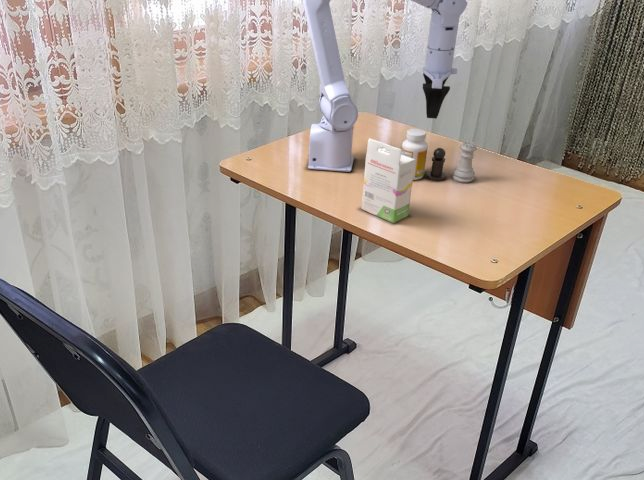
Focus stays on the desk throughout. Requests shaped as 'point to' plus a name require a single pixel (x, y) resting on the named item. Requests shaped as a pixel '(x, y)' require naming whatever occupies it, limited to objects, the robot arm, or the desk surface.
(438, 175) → the ebony pawn
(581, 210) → the desk surface
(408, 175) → the ink box
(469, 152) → the rook chess piece
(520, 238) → the desk surface
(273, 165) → the desk surface
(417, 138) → the supplement bottle
